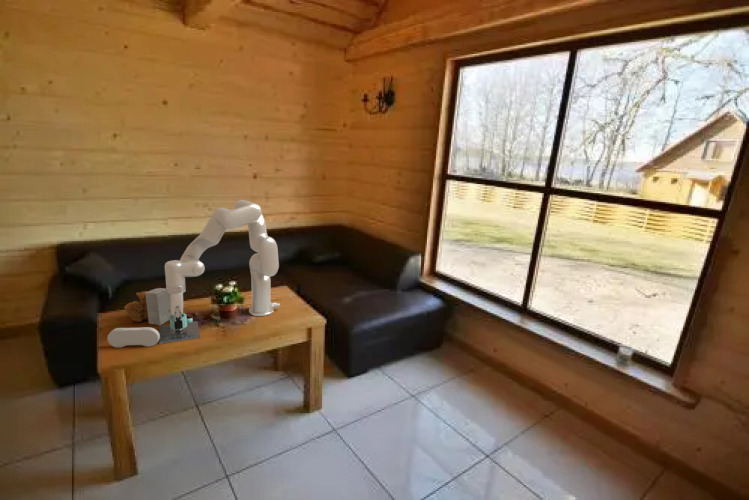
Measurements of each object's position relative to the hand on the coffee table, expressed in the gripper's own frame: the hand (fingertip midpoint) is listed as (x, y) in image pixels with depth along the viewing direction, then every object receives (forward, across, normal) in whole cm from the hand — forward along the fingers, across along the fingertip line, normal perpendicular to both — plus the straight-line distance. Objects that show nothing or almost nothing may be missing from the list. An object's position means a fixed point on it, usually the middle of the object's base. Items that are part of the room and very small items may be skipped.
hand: (178, 324), depth 173 cm
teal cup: (+1, 0, +1) cm, 1 cm away
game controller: (+5, +6, -17) cm, 18 cm away
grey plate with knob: (+4, 0, 0) cm, 4 cm away
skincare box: (+4, -16, -8) cm, 18 cm away
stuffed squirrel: (+4, -22, -15) cm, 27 cm away
